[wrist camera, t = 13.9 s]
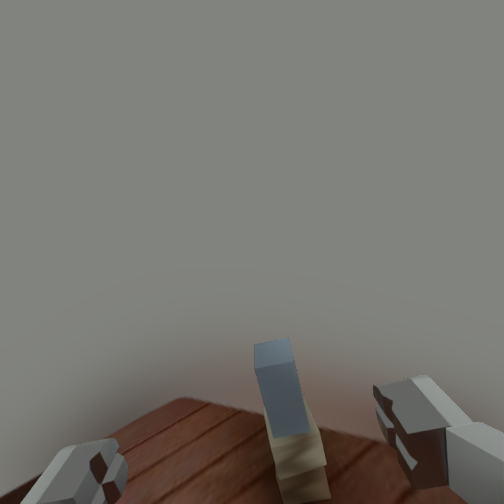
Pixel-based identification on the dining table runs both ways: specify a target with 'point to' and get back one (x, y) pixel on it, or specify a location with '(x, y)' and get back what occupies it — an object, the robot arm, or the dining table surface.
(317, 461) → the tower top
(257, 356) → the pillar
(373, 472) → the dining table surface
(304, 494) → the tower base
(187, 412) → the dining table surface
